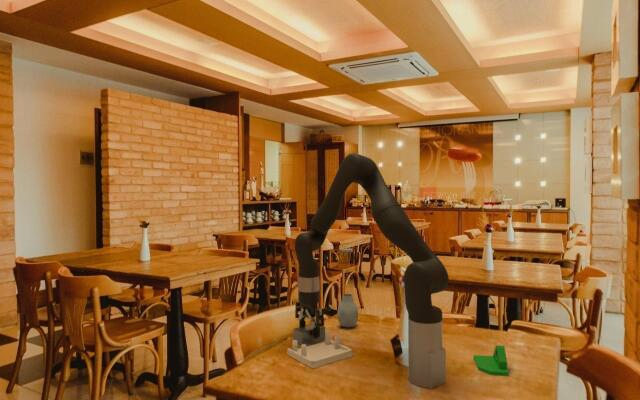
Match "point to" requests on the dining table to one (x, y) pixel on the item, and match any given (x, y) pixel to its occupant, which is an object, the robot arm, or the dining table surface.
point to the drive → (308, 335)
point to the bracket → (493, 362)
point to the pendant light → (347, 306)
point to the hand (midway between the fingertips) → (309, 334)
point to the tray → (320, 352)
